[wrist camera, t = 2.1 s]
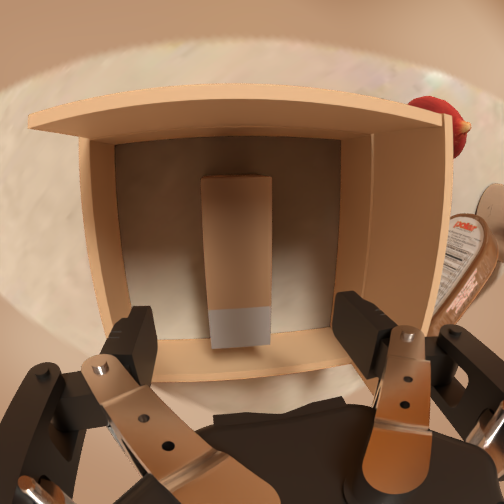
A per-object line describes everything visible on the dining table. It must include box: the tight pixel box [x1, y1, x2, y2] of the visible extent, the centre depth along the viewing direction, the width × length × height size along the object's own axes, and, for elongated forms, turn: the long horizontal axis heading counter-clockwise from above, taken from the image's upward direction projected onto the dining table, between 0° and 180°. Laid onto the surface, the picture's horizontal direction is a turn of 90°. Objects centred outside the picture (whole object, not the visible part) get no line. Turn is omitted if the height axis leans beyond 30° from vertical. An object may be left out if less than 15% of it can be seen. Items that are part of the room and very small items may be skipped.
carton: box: [28, 84, 453, 396], centre depth 17 cm, size 20×19×12 cm
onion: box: [407, 96, 471, 159], centre depth 19 cm, size 6×6×8 cm
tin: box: [426, 214, 499, 337], centre depth 22 cm, size 15×3×8 cm, turn 140°
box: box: [200, 174, 272, 349], centre depth 20 cm, size 4×11×6 cm, turn 1°
